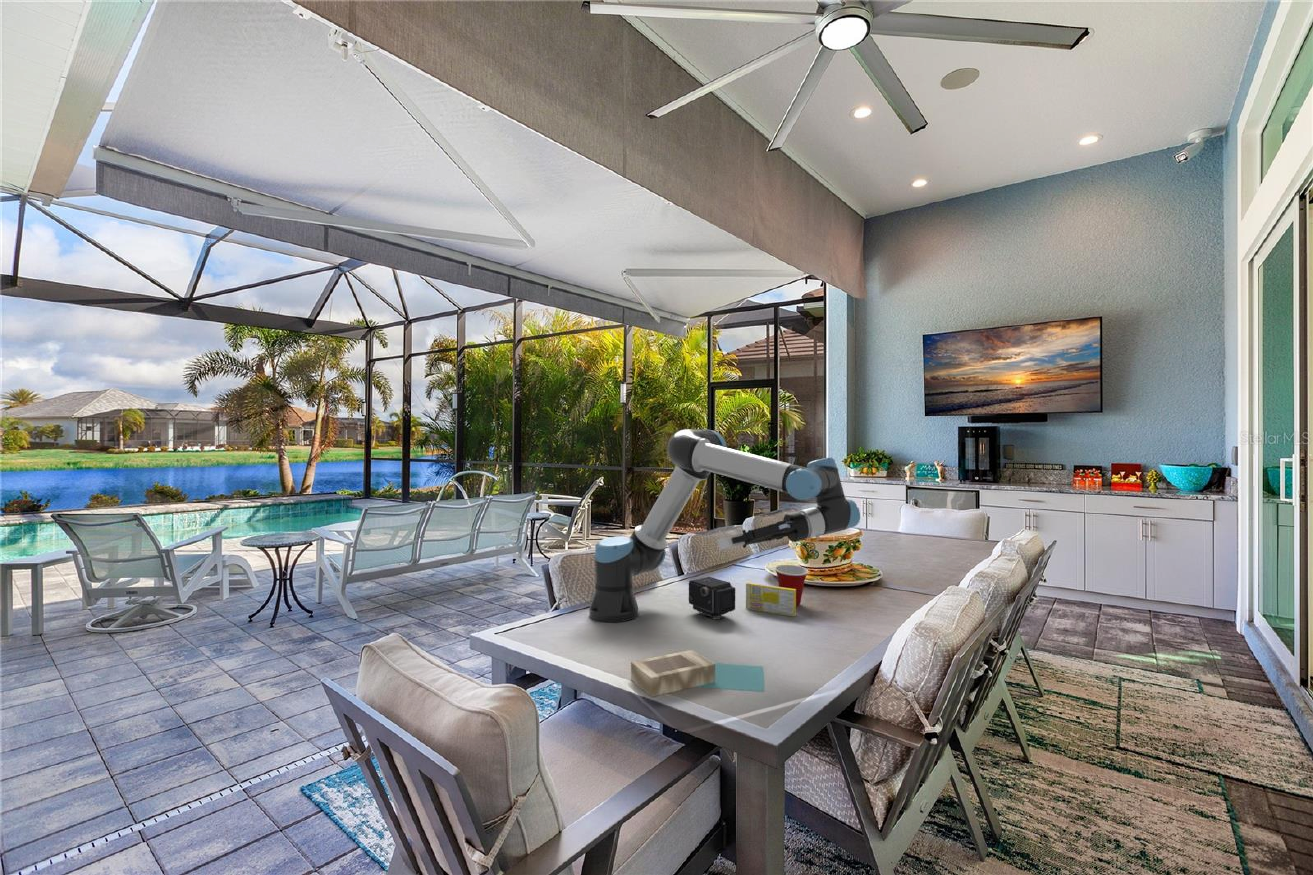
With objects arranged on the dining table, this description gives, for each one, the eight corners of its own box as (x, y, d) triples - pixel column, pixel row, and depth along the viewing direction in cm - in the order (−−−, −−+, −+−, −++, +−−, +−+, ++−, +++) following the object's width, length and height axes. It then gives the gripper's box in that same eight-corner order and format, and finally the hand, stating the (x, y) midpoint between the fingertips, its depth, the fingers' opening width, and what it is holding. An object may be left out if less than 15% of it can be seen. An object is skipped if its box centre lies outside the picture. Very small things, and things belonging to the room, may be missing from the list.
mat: (645, 686, 131) (645, 683, 131) (655, 662, 144) (655, 659, 144) (764, 694, 126) (764, 691, 126) (763, 668, 140) (763, 666, 140)
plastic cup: (787, 611, 186) (787, 573, 186) (768, 602, 196) (768, 566, 196) (815, 607, 191) (815, 570, 191) (794, 598, 201) (794, 563, 200)
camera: (684, 617, 184) (717, 624, 172) (682, 580, 185) (714, 585, 173) (710, 610, 190) (743, 617, 178) (707, 575, 191) (740, 579, 179)
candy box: (796, 615, 182) (796, 588, 182) (794, 617, 180) (794, 590, 180) (748, 607, 191) (748, 581, 191) (745, 609, 189) (745, 583, 189)
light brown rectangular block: (715, 682, 131) (651, 696, 124) (691, 666, 140) (631, 679, 133) (715, 664, 131) (651, 677, 124) (691, 649, 140) (631, 661, 133)
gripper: (818, 533, 146) (730, 554, 140) (797, 543, 158) (716, 564, 152) (808, 504, 149) (721, 524, 143) (788, 517, 160) (708, 535, 155)
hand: (719, 544), depth 147 cm, fingers closed
